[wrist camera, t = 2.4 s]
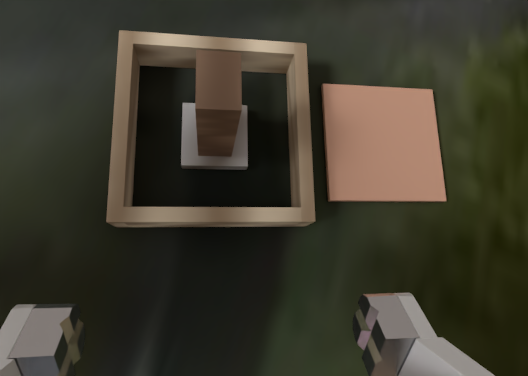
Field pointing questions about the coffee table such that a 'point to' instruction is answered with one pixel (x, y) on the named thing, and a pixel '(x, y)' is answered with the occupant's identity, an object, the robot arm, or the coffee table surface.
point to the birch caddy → (184, 56)
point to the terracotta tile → (381, 144)
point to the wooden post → (215, 115)
